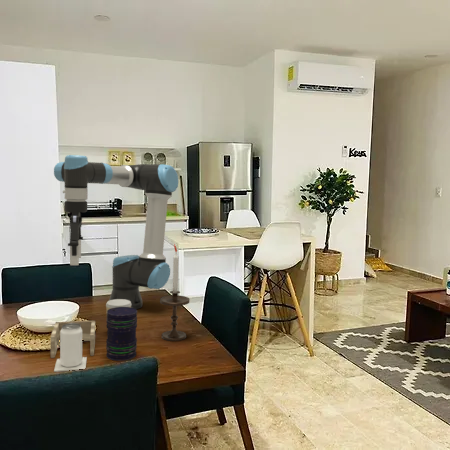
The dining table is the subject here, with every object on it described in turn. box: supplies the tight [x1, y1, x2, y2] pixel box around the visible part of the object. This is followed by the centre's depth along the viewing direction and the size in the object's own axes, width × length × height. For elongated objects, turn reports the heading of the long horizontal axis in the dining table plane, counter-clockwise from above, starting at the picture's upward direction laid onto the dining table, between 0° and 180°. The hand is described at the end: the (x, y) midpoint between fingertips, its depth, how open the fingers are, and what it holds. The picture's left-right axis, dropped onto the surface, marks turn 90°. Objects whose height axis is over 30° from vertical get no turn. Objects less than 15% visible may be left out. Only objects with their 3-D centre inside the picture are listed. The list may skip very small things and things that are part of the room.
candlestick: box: [159, 243, 191, 342], centre depth 168 cm, size 11×11×35 cm
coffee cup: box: [105, 299, 132, 313], centre depth 171 cm, size 9×9×12 cm
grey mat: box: [53, 356, 88, 373], centre depth 142 cm, size 9×9×1 cm
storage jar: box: [105, 307, 138, 362], centre depth 150 cm, size 10×10×15 cm
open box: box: [50, 320, 96, 359], centre depth 155 cm, size 15×13×7 cm
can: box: [59, 323, 83, 367], centre depth 141 cm, size 6×6×12 cm
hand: (75, 261), depth 159 cm, fingers open, 13 cm apart
